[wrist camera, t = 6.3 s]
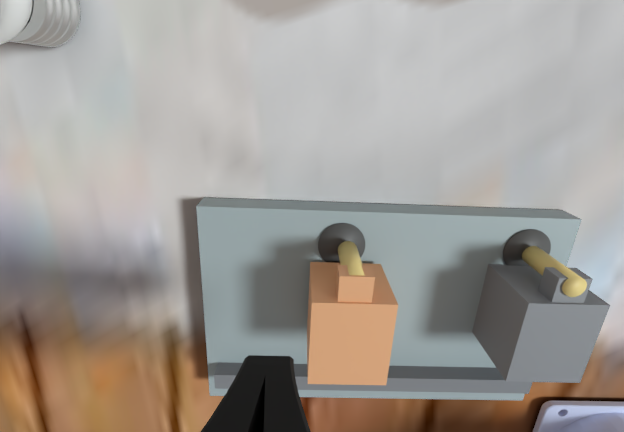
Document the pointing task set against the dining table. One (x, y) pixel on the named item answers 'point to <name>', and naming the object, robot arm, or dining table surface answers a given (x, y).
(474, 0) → the dining table surface
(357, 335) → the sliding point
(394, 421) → the dining table surface
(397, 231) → the gauge board
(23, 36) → the lightbulb
